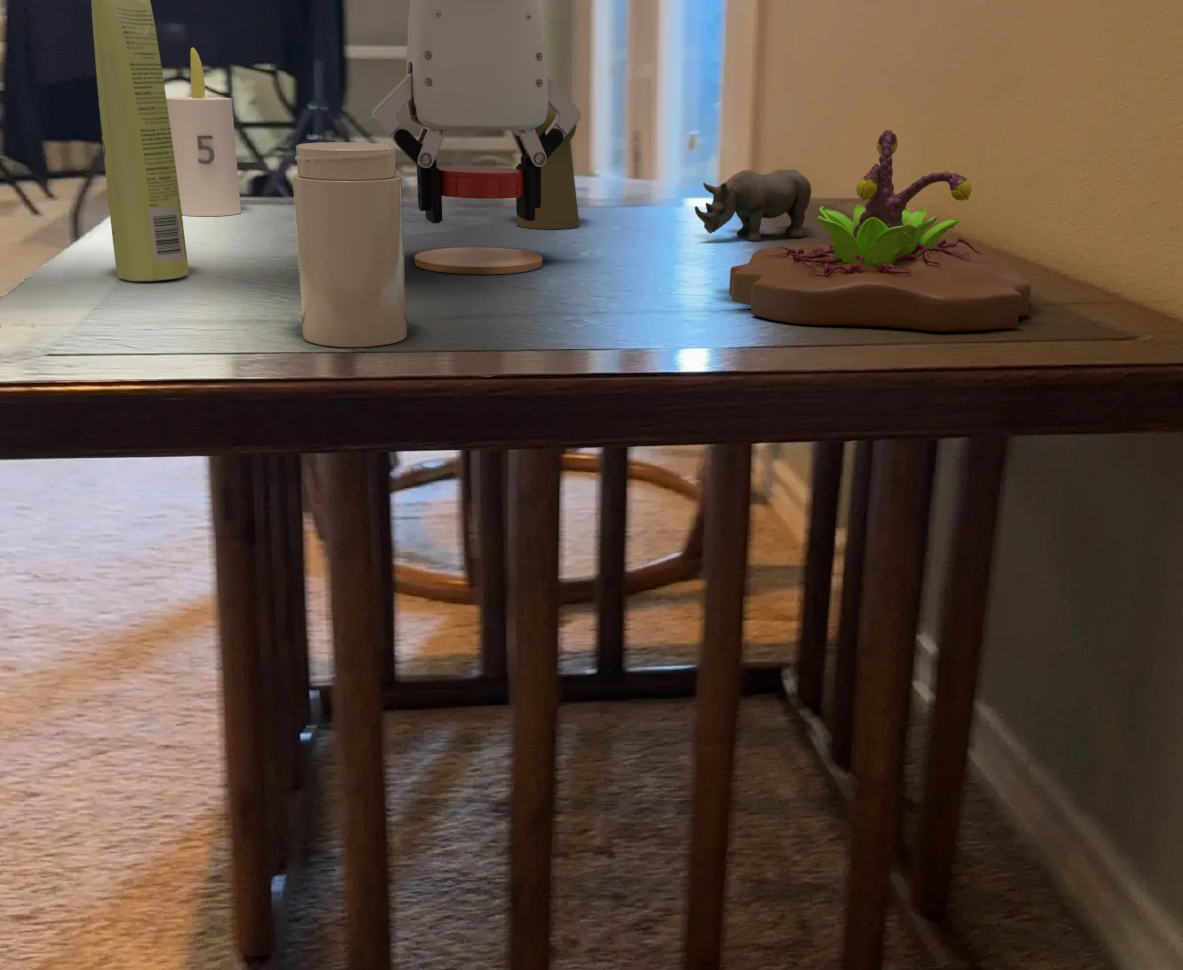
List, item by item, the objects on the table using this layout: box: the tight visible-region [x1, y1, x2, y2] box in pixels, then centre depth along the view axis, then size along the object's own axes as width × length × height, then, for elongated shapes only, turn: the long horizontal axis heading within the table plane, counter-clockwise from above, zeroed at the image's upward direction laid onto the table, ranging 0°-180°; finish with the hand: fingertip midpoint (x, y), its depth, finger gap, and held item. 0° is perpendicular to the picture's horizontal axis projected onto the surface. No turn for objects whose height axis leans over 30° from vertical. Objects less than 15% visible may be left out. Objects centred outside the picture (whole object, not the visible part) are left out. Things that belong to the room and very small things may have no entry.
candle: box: [166, 47, 242, 217], centre depth 124 cm, size 6×6×15 cm
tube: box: [91, 0, 190, 282], centre depth 89 cm, size 6×5×20 cm
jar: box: [292, 141, 408, 348], centre depth 74 cm, size 6×6×11 cm
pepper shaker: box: [516, 105, 580, 230], centre depth 122 cm, size 6×6×11 cm
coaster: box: [414, 246, 543, 276], centre depth 101 cm, size 10×10×1 cm
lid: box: [437, 165, 524, 200], centre depth 99 cm, size 7×7×2 cm
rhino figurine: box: [694, 168, 812, 242], centre depth 117 cm, size 4×14×6 cm, turn 124°
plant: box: [728, 129, 1032, 333], centre depth 87 cm, size 20×20×11 cm
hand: (480, 217), depth 100 cm, fingers closed on lid, 6 cm apart
